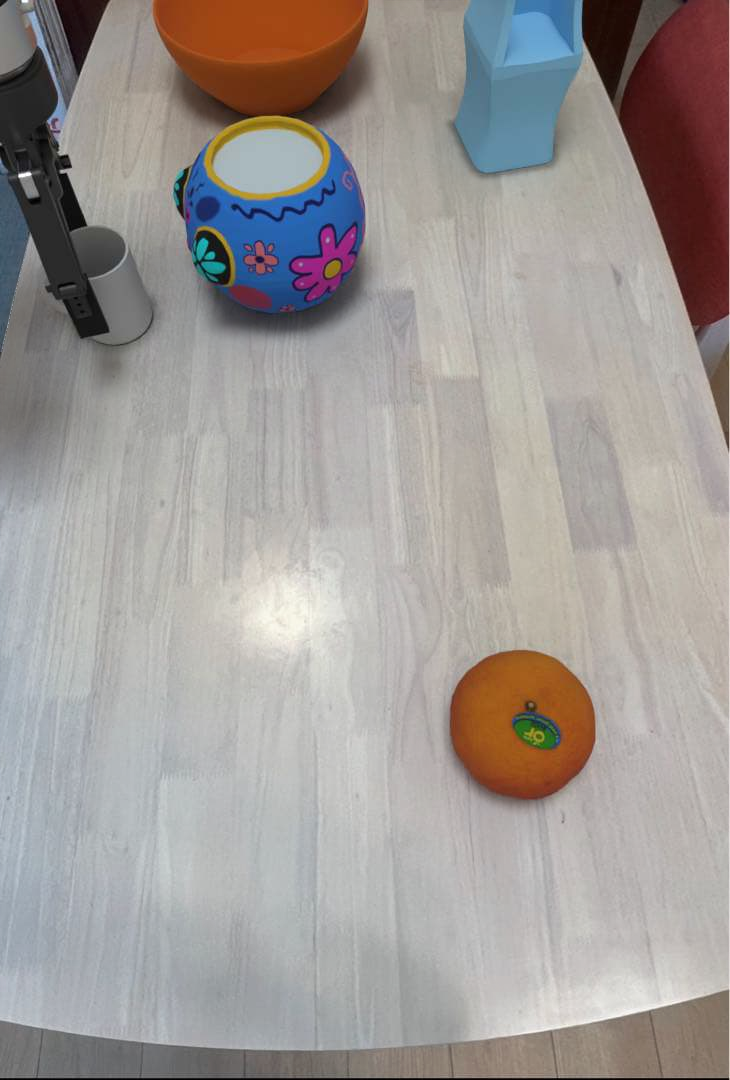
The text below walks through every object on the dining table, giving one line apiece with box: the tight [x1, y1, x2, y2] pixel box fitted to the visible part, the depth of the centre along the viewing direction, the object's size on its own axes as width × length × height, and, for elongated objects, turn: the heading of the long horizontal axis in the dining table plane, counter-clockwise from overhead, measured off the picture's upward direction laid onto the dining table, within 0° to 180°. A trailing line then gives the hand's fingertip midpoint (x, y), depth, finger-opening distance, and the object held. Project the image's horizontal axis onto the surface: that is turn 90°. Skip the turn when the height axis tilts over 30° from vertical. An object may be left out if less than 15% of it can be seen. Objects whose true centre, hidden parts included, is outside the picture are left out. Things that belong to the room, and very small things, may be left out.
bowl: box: [152, 0, 369, 117], centre depth 92 cm, size 25×25×10 cm
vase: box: [453, 0, 584, 174], centre depth 79 cm, size 10×10×25 cm
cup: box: [35, 224, 153, 346], centre depth 74 cm, size 7×10×9 cm
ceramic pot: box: [172, 116, 367, 314], centre depth 74 cm, size 18×18×15 cm
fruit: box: [449, 649, 597, 801], centre depth 55 cm, size 11×10×8 cm
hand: (85, 282), depth 73 cm, fingers open, 13 cm apart
